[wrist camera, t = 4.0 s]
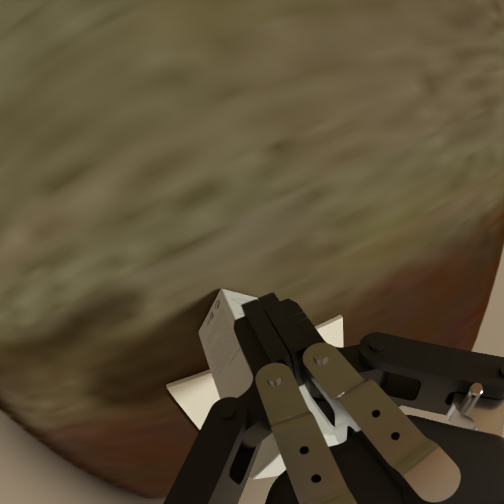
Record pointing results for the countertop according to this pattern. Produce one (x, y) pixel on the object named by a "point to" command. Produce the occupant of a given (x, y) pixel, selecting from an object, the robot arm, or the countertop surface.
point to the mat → (204, 389)
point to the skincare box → (243, 374)
